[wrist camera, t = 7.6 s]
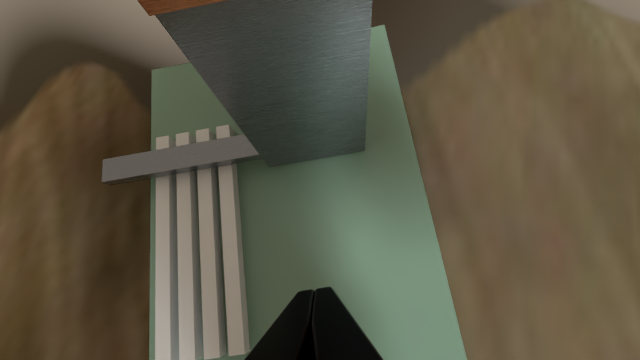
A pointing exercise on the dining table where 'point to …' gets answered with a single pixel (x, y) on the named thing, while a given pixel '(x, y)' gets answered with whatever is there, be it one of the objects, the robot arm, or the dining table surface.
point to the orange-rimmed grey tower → (267, 81)
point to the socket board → (293, 232)
